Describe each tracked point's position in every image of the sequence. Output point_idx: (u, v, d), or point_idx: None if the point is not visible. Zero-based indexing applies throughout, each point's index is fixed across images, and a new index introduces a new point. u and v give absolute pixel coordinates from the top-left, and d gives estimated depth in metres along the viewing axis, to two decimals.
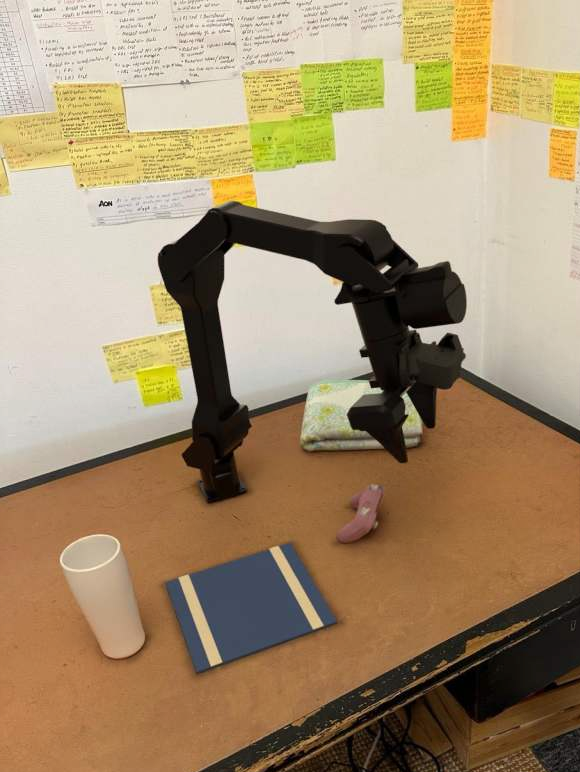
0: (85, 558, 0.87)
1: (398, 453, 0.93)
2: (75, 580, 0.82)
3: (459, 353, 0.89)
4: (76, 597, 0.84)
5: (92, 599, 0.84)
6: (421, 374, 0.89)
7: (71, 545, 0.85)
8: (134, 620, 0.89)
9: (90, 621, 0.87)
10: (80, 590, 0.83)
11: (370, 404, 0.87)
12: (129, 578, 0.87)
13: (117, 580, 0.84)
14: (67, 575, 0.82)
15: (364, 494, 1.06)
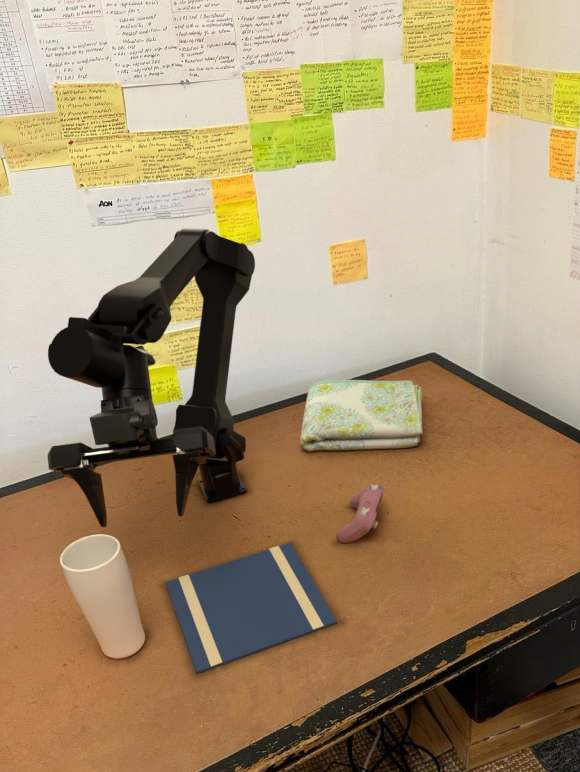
0: (85, 558, 0.87)
1: None
2: (75, 580, 0.82)
3: (122, 413, 0.83)
4: (76, 597, 0.84)
5: (92, 599, 0.84)
6: None
7: (71, 545, 0.85)
8: (134, 620, 0.89)
9: (90, 621, 0.87)
10: (80, 590, 0.83)
11: None
12: (129, 578, 0.87)
13: (117, 580, 0.84)
14: (67, 575, 0.82)
15: (364, 494, 1.06)
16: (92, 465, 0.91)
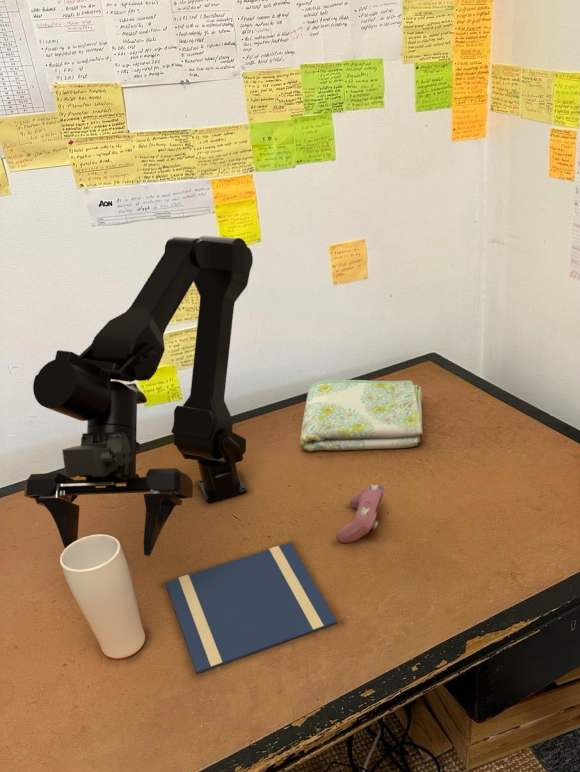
0: (85, 558, 0.87)
1: None
2: (75, 580, 0.82)
3: (93, 448, 0.83)
4: (76, 597, 0.84)
5: (92, 599, 0.84)
6: None
7: (71, 545, 0.85)
8: (134, 620, 0.89)
9: (90, 621, 0.87)
10: (80, 590, 0.83)
11: None
12: (129, 578, 0.87)
13: (117, 580, 0.84)
14: (67, 575, 0.82)
15: (364, 494, 1.06)
16: (69, 496, 0.91)
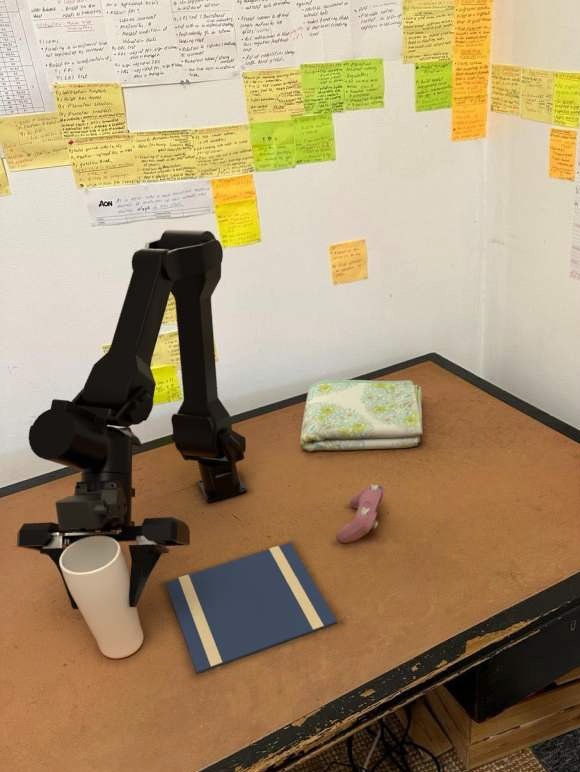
0: (84, 559, 0.87)
1: None
2: (75, 583, 0.82)
3: (87, 500, 0.81)
4: (76, 599, 0.84)
5: (92, 601, 0.83)
6: None
7: (70, 546, 0.85)
8: (133, 621, 0.89)
9: (89, 622, 0.87)
10: (80, 592, 0.83)
11: None
12: (129, 579, 0.86)
13: (117, 582, 0.84)
14: (67, 577, 0.82)
15: (364, 494, 1.06)
16: None
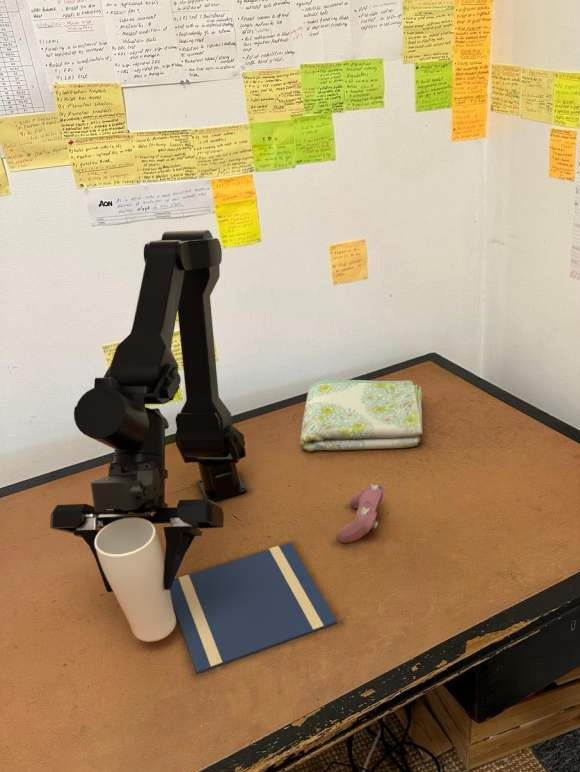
0: (118, 541, 0.86)
1: None
2: (111, 564, 0.81)
3: (123, 481, 0.80)
4: (111, 581, 0.83)
5: (127, 583, 0.83)
6: None
7: (105, 528, 0.84)
8: (167, 603, 0.88)
9: (123, 605, 0.86)
10: (115, 574, 0.82)
11: None
12: (163, 562, 0.85)
13: (153, 564, 0.83)
14: (102, 559, 0.81)
15: (364, 494, 1.06)
16: None
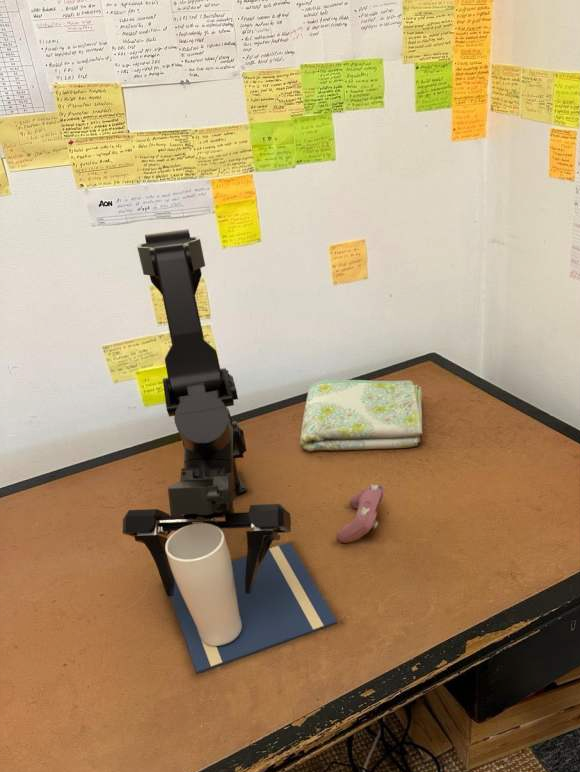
0: (186, 547, 0.87)
1: None
2: (182, 570, 0.82)
3: (200, 486, 0.80)
4: (181, 586, 0.84)
5: (198, 588, 0.84)
6: None
7: (174, 534, 0.85)
8: (234, 608, 0.89)
9: (193, 610, 0.87)
10: (187, 579, 0.83)
11: None
12: (231, 566, 0.86)
13: (222, 569, 0.84)
14: (174, 565, 0.82)
15: (364, 494, 1.06)
16: (166, 532, 0.89)
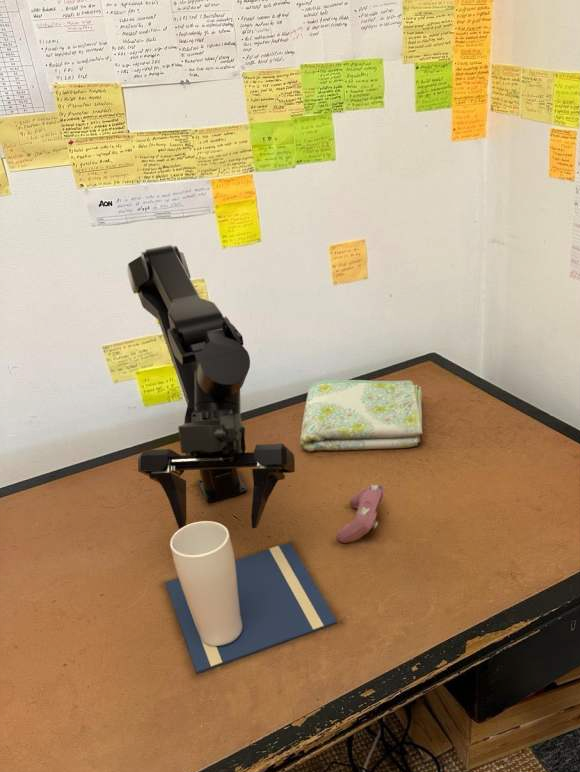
0: (190, 545, 0.88)
1: None
2: (187, 565, 0.82)
3: (208, 425, 0.86)
4: (185, 583, 0.85)
5: (201, 585, 0.84)
6: None
7: (179, 531, 0.86)
8: (236, 607, 0.89)
9: (195, 607, 0.87)
10: (190, 576, 0.83)
11: None
12: (235, 565, 0.87)
13: (226, 566, 0.84)
14: (178, 560, 0.83)
15: (364, 494, 1.06)
16: (178, 471, 0.95)
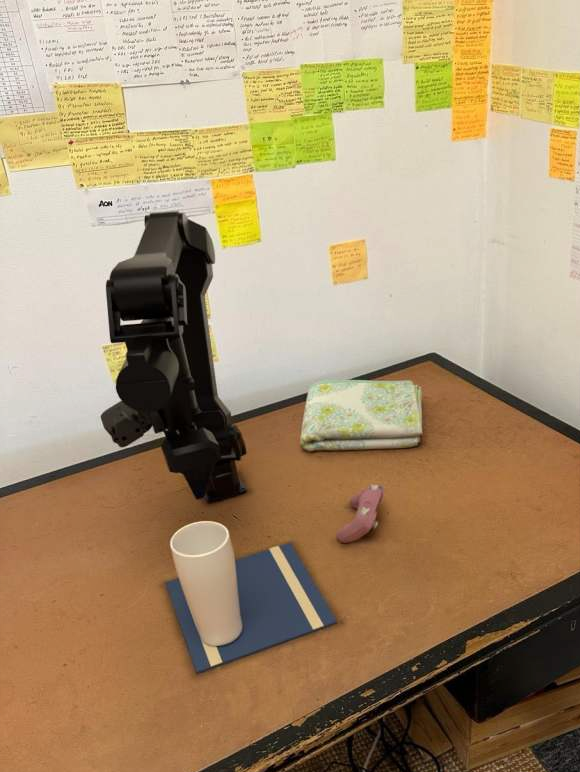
0: (190, 545, 0.88)
1: None
2: (187, 565, 0.82)
3: (105, 426, 0.88)
4: (185, 583, 0.85)
5: (201, 585, 0.84)
6: None
7: (179, 531, 0.86)
8: (236, 607, 0.89)
9: (195, 607, 0.87)
10: (190, 576, 0.83)
11: None
12: (235, 565, 0.87)
13: (226, 566, 0.84)
14: (178, 560, 0.83)
15: (364, 494, 1.06)
16: None
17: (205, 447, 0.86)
